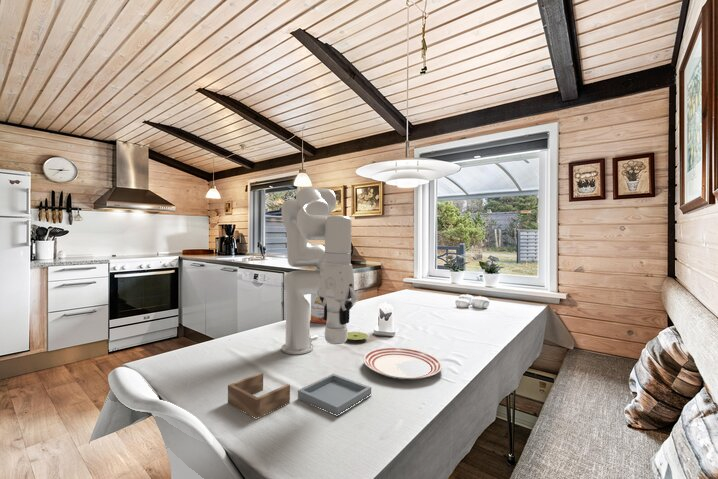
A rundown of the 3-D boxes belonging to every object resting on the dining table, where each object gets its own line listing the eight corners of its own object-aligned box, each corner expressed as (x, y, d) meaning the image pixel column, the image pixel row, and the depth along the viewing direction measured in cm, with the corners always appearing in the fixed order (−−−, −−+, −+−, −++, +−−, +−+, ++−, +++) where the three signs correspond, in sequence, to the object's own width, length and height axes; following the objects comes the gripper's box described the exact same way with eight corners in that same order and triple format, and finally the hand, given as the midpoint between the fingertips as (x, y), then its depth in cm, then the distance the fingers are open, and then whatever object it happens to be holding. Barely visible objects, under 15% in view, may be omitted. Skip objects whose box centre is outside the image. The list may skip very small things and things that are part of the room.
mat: (353, 334, 161) (354, 330, 161) (373, 339, 154) (373, 335, 154) (337, 339, 152) (337, 335, 152) (357, 345, 145) (357, 341, 145)
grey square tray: (333, 381, 111) (333, 373, 111) (371, 395, 101) (371, 387, 101) (297, 398, 99) (298, 390, 99) (337, 417, 90) (337, 407, 90)
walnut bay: (261, 388, 104) (261, 372, 104) (289, 402, 96) (290, 385, 96) (227, 402, 96) (227, 385, 95) (256, 419, 88) (256, 400, 88)
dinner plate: (444, 360, 131) (445, 351, 131) (437, 392, 105) (437, 381, 105) (375, 351, 139) (375, 343, 139) (352, 378, 114) (352, 368, 113)
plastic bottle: (344, 348, 96) (346, 276, 95) (321, 345, 97) (322, 275, 96) (349, 340, 102) (351, 273, 101) (327, 338, 103) (329, 272, 103)
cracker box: (310, 322, 179) (310, 282, 178) (313, 319, 185) (314, 280, 184) (336, 324, 176) (337, 283, 176) (339, 321, 182) (339, 281, 182)
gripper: (307, 257, 101) (306, 318, 102) (352, 261, 91) (351, 330, 91) (324, 256, 107) (323, 314, 108) (369, 260, 97) (368, 324, 97)
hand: (336, 320), depth 99 cm, fingers closed on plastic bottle, 5 cm apart
